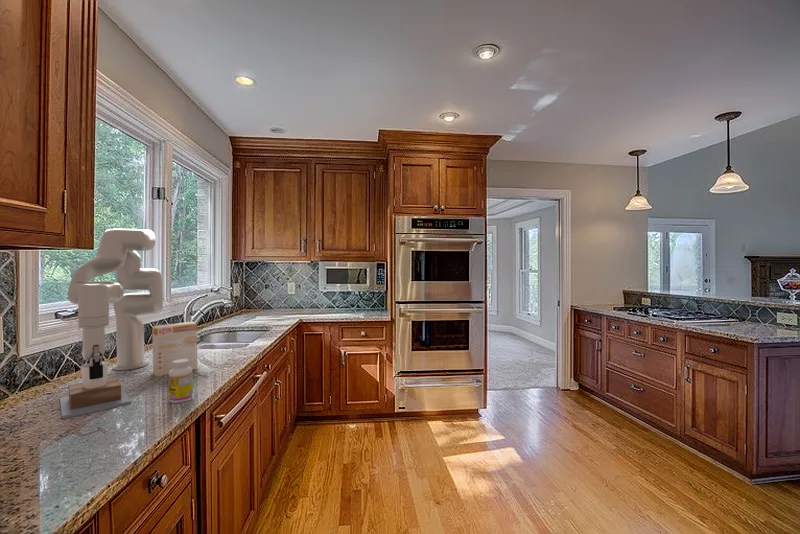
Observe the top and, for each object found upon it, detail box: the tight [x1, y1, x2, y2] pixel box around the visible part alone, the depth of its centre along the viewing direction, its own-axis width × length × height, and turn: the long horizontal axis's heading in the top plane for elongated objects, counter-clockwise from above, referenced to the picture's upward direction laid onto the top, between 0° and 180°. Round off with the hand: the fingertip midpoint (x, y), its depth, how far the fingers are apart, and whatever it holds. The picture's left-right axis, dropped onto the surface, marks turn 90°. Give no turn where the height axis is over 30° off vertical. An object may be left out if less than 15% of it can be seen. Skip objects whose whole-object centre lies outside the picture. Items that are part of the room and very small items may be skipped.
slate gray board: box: [59, 385, 132, 420], centre depth 116 cm, size 20×16×1 cm
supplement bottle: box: [168, 359, 194, 404], centre depth 117 cm, size 7×7×13 cm
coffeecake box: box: [151, 321, 199, 377], centre depth 149 cm, size 15×7×20 cm, turn 133°
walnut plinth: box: [68, 376, 122, 410], centre depth 116 cm, size 12×12×5 cm
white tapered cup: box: [80, 360, 110, 389], centre depth 115 cm, size 7×7×7 cm
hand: (94, 375), depth 116 cm, fingers open, 9 cm apart
